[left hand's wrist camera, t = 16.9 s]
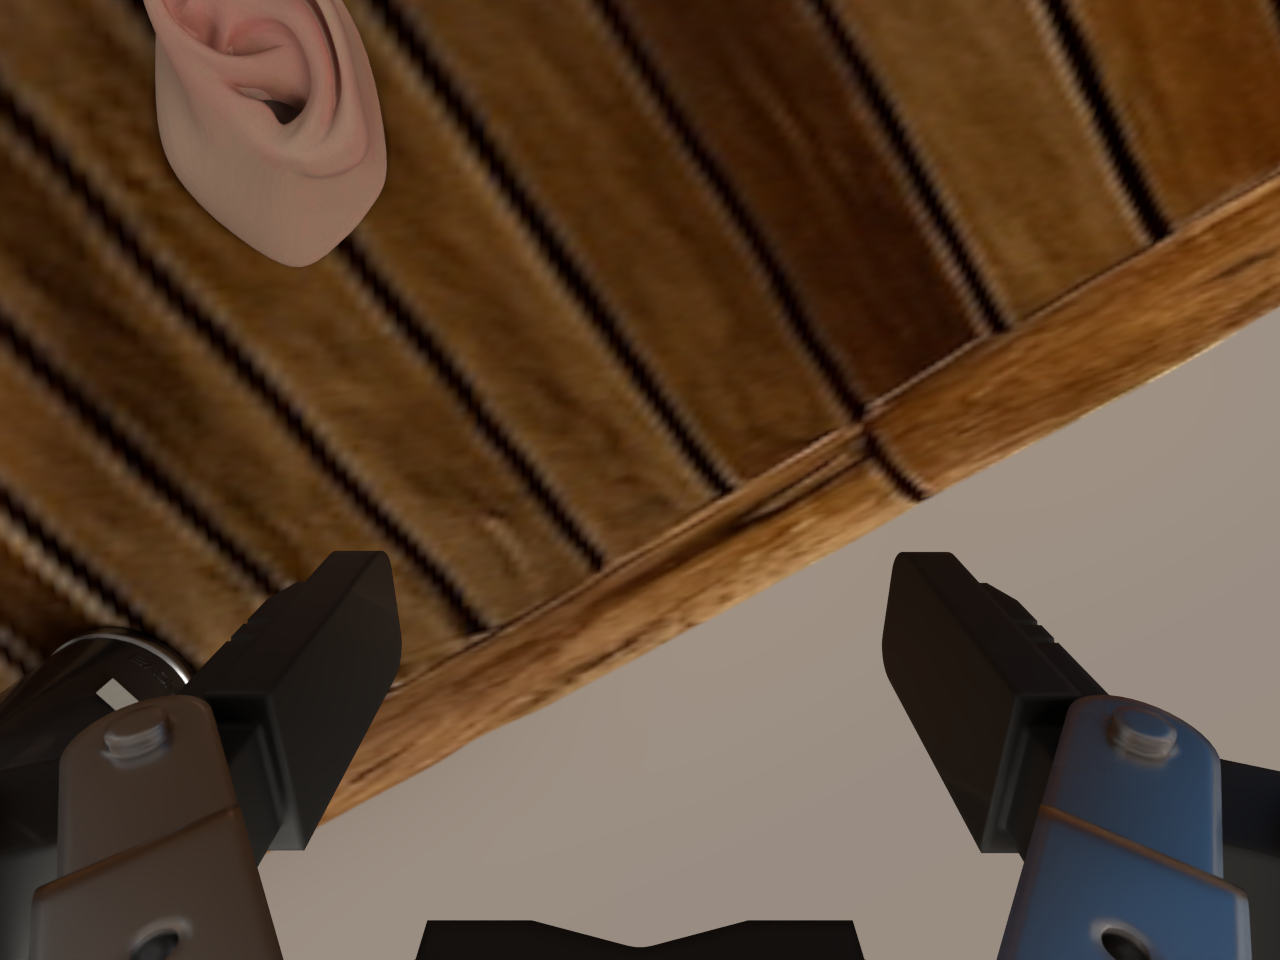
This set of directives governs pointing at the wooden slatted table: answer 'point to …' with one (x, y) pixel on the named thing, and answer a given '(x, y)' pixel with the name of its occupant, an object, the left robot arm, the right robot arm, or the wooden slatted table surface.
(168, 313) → the wooden slatted table surface
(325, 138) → the anatomical model
